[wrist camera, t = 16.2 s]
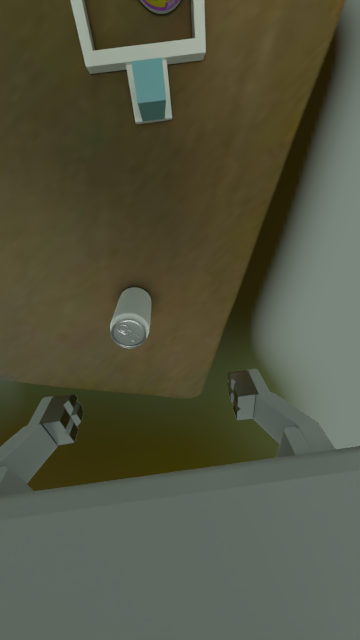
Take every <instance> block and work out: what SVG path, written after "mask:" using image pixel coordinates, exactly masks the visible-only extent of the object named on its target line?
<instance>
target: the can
mask: <svg viewBox="0 0 360 640" xmlns="http://www.w3.org/2000/svg"><path fill="white" fill-rule="evenodd" d="M150 317H151V298H150V296H149V294H148V293H147V292H146V291H145V290H143V289H141V288H137V287H132V288H128V289H126V290H125V291H123V293H122V294H121V296H120V298H119V301H118V303H117V306H116V309H115V312H114V315H113V318H112V321H111V324H110V331H111V337H112V339H113V341H114V342H115V343H116V344H117V345H119V346H121V347H123V348H136V347H139V346H140V345H142V344H143V343H144V341H145V340H146V338H147V336H148V334H149V329H150Z"/></svg>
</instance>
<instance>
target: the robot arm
mask: <svg viewBox="0 0 360 640" xmlns="http://www.w3.org/2000/svg"><path fill="white" fill-rule="evenodd" d="M228 379H229V383H228V393H229V397H230V401H231V402H232V403H233V410H234V413H235V416H236V419H237V420H243V419H252V418H254V420H255V421H256V422H257V423H258V424H259V425H260V426H261V427H262V428H263V429H264V430H265V431H266V432H267V433H268V434H270V435H271V436H272V437H273V438H274V439H275V440H276V441H277V442H278V443H279V444H280V448H279V452H278V456H277V458H272V459H264V460H257V461H250V462H243V463H236V464H229V465H222V466H214V467H207V468H200V469H192V470H185V471H178V472H170V473H163V474H156V475H149V476H142V477H135V478H127V479H120V480H113V481H106V482H99V483H92V484H84V485H77V486H70V487H63V488H56V489H48V490H41V491H35V492H33V490H32V489H31V488H30V487H29V486H28V485H27V483H28V482H29V480H30V479H31V478H32V477H33V476H34V474H35V473H36V472H37V471H38V469H39V468H40V467H41V466H42V465H43V463H44V462H45V461H46V460H47V458H48V457H49V456H50V455H51V454H52V453H53V451H54V450H55V449H56V448H57V445H62V444H68V443H74V442H75V439H76V436H77V433H78V428H77V425H78V424H79V423H80V422H81V420H82V417H83V408H82V405H81V403H79V402H77V396H76V395H75V394H68V395H60V396H59V395H58V396H51V397H45V398H43V399H42V400H41V402H40V404H39V406H38V408H37V410H36V411H35V413H34V415H33V417H32V419H31V420H30V422H29V424H28V426H25V427H23V428H22V429H21V430H20V431H19V432H17V433H16V434H15V435H14V436H13V437H12V438H10V439H9V440H8V441H7V442H6V443H5V444H3V445H2V446H1V447H0V640H360V446H357V447H350V448H343V449H335V448H334V447H333V445H332V443H331V442H330V440H329V439H328V437H327V436H326V434H325V432H324V431H323V429H322V428H321V426H320V425H319V424H318V422H316V421H315V420H313V419H312V418H310V417H309V416H307V415H306V414H304V413H303V412H301V411H300V410H298V409H297V408H295V407H294V406H292V405H291V404H289V403H288V402H286V401H285V400H283V399H282V398H280V397H279V396H277V395H276V394H274V393H270V392H269V390H268V388H267V386H266V385H265V383H264V381H263V379H262V377H261V375H260V373H259V371H258V370H257V369H250V370H242V371H236V372H229V373H228Z"/></svg>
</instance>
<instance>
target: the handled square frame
mask: <svg viewBox="0 0 360 640" xmlns="http://www.w3.org/2000/svg"><path fill="white" fill-rule="evenodd" d="M71 5H72V9H73V13H74V18H75V22H76V26H77V31H78V35H79V39H80V44H81V48H82V52H83V57H84V61H85V65H86V68H87V70H88V71H89V73H90V74H95V73H103V72H111V71H119V70H127V74H128V80H129V87H130V93H131V99H132V105H133V111H134V117H135V123H136V124H143V123H151V122H159V121H167V120H172V111H171V101H170V90H169V80H168V70H167V64H175V63H184V62H192V61H200V60H203V59H204V56H205V53H206V42H205V9H204V0H191V18H192V39H184V40H176V41H168V42H160V43H152V44H144V45H135V46H127V47H119V48H111V49H103V50H95V48H94V43H93V38H92V33H91V29H90V24H89V19H88V14H87V10H86V5H85V0H71Z"/></svg>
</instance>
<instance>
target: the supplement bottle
mask: <svg viewBox="0 0 360 640" xmlns="http://www.w3.org/2000/svg"><path fill="white" fill-rule="evenodd" d="M140 1H141V2H142V4H143V5H144V6H145V7H146V8H148V9H149V10H150V11H152V12H154V13H157V14H166V13H168V12H170V11H172V10H173V9H175V8H176V6H177V5H178V4H179V3H180V1H181V0H140Z"/></svg>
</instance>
